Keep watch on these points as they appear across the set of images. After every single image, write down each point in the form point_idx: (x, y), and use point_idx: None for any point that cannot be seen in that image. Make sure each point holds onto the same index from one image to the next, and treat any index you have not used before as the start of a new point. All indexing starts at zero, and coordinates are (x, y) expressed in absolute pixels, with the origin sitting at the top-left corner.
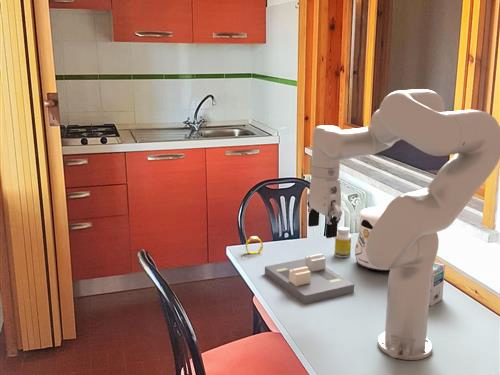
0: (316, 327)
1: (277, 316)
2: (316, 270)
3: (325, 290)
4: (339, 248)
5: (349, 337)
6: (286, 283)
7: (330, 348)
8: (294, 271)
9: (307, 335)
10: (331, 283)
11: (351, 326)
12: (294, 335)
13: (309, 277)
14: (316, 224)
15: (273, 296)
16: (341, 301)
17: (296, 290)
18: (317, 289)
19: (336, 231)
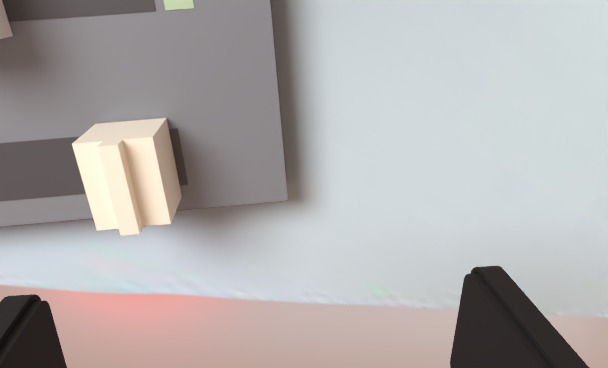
0: (466, 224)
1: (336, 303)
2: (1, 2)
3: (273, 90)
4: None
5: (583, 158)
6: None
7: (593, 243)
8: (140, 226)
9: None
10: (203, 13)
11: (530, 109)
12: None
13: (161, 135)
14: (47, 336)
15: (179, 263)
16: (328, 24)
17: (215, 204)
18: (248, 121)
19: (530, 311)
